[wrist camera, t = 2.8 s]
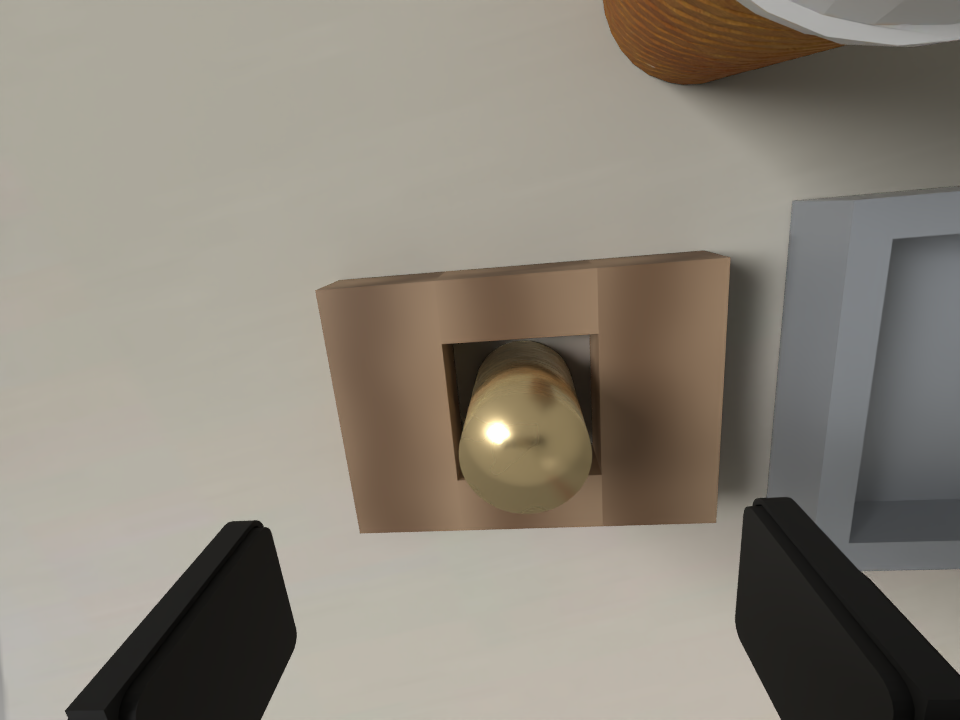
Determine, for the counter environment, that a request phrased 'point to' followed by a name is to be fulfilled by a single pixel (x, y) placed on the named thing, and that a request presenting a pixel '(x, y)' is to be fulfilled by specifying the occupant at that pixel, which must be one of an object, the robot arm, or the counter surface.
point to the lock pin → (524, 431)
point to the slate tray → (873, 376)
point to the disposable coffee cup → (765, 31)
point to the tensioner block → (519, 315)
